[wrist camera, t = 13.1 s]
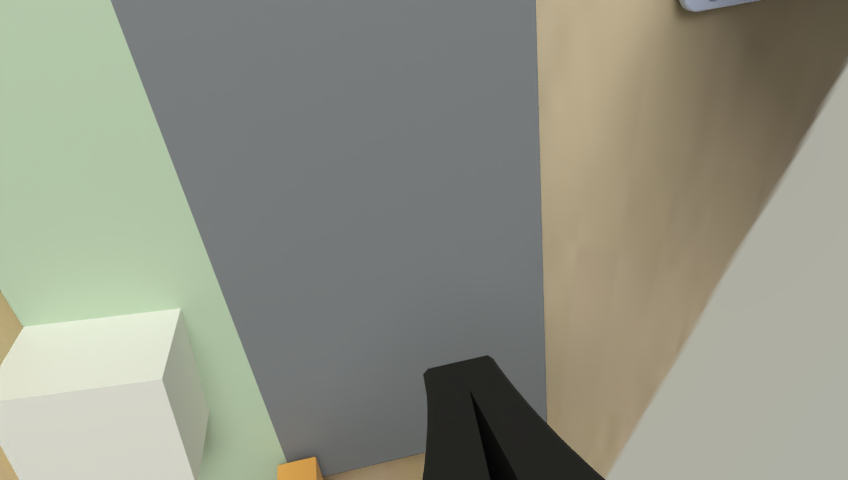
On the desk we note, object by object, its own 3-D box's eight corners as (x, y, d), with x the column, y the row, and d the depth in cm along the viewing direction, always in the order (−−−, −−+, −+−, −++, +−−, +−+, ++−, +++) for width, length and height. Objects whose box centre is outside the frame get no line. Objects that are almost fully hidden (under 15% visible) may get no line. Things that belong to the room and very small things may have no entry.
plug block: (180, 308, 21) (162, 379, 18) (209, 411, 23) (197, 488, 20) (23, 326, 20) (-23, 403, 17) (71, 430, 23) (38, 513, 20)
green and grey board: (519, -148, 17) (531, -149, 16) (539, 406, 28) (546, 423, 27) (-177, -42, 15) (-204, -37, 14) (148, 499, 27) (143, 519, 26)
